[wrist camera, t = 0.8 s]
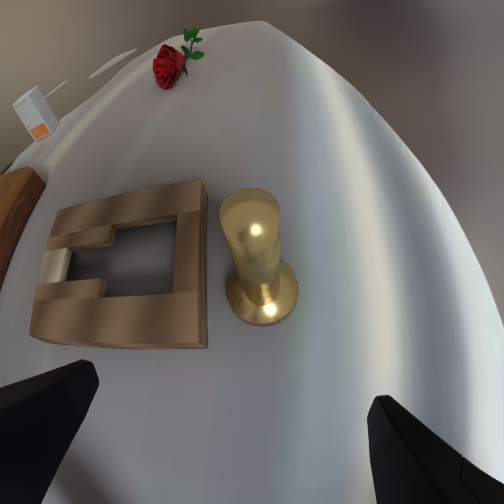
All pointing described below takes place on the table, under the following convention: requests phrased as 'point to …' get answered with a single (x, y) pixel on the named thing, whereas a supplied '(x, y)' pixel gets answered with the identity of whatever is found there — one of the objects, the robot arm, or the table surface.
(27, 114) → the skincare box
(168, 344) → the keyhole plate
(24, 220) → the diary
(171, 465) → the table surface
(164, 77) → the flower
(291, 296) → the brass peg
